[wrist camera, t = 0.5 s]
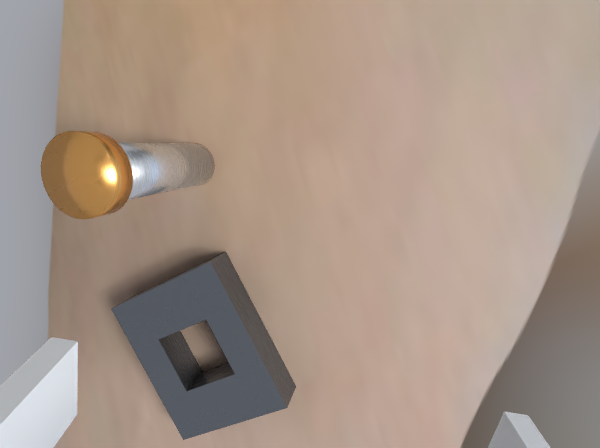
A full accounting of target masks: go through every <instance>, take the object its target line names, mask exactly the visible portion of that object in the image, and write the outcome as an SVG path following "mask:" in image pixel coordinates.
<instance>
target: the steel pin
mask: <svg viewBox="0 0 600 448" xmlns="http://www.w3.org/2000/svg"><path fill="white" fill-rule="evenodd" d="M214 166H215V165H214V159H213V156H212V154H211V152H210V151H209V150H208V149H207V148H206V147H205V146H203V145H201V144H197V143H117V142H116V141H115V140H114V139H113V138H111V137H109V136H107V135H105V134H102V133H98V132H82V131H68V132H63V133H61V134H59V135H57V136H55V137H54V138H53V139H52V140H51V141H50V142H49V144H48V145H47V147H46V148H45V151H44V153H43V156H42V162H41V175H42V180H43V184H44V187H45V189H46V192H47V194H48V196H49V197H50V199H51V200H52V202H53V203H54V204H55V205H56V206H57V207H58V208H59V209H60V210H61V211H62V212H64V213H65V214H67V215H69V216H71V217H74V218H78V219H90V218H94V217H98V216H102V215H106V214H110V213H113V212H116V211H117V210H119V209H120V208H121V207H123V206H124V204H125V203H126V202H127V200H128V199H133V198H138V197H143V196H148V195H153V194H158V193H163V192H168V191H173V190H177V189H182V188H187V187H192V186H197V185H202V184H204V183H206V182H207V181H209V179H210V178H211V177H212V175H213V172H214Z"/></svg>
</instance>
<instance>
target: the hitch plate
mask: <svg viewBox="0 0 600 448" xmlns="http://www.w3.org/2000/svg"><path fill="white" fill-rule="evenodd" d="M112 311H113V313H114V315H115V316H116V318H117V320H118V322H119V324H120V325H121V327H122V329H123V331H124V333H125V335H126V336H127V338H128V340H129V342H130V344H131V345H132V347H133V349H134V351H135V353H136V355H137V356H138V358H139V360H140V362H141V364H142V365H143V367H144V369H145V371H146V373H147V375H148V376H149V378H150V380H151V382H152V384H153V385H154V387H155V389H156V391H157V393H158V395H159V396H160V398H161V400H162V402H163V404H164V405H165V407H166V409H167V411H168V413H169V415H170V416H171V418H172V420H173V422H174V424H175V425H176V427H177V429H178V431H179V433H180V435H181V436H182V438H183V440H184V439H188V438H191V437H194V436H197V435H201V434H204V433H207V432H210V431H214V430H217V429H220V428H223V427H227V426H230V425H233V424H236V423H239V422H243V421H246V420H249V419H252V418H256V417H259V416H262V415H265V414H269V413H272V412H275V411H278V410H282V409H285V408H287V407H288V404H289V402H290V400H291V397H292V395H293V392H294V390H295V388H296V386H295V384H294V382H293V380H292V378H291V376H290V374H289V372H288V370H287V368H286V367H285V365H284V363H283V361H282V359H281V357H280V355H279V353H278V351H277V349H276V347H275V345H274V343H273V342H272V340H271V338H270V336H269V334H268V332H267V330H266V328H265V326H264V324H263V322H262V320H261V318H260V317H259V315H258V313H257V311H256V309H255V307H254V305H253V303H252V301H251V299H250V297H249V295H248V293H247V292H246V290H245V288H244V286H243V284H242V282H241V280H240V278H239V276H238V274H237V272H236V270H235V268H234V267H233V265H232V263H231V261H230V259H229V257H228V255H227V253H226V252H224V253H222V254H220V255H218V256H216V257H214V258H212V259H210V260H208V261H206V262H204V263H201V264H199V265H197V266H195V267H193V268H191V269H189V270H187V271H185V272H183V273H181V274H179V275H176V276H174V277H172V278H170V279H168V280H166V281H164V282H162V283H160V284H158V285H156V286H154V287H152V288H149V289H147V290H145V291H143V292H141V293H139V294H137V295H135V296H133V297H131V298H129V299H128V300H126V301H124V302H122V303H121V304H119V305H117V306H115V307H114V308H112ZM203 320H206V321H207V322H208V324H209V326H210V328H211V330H212V332H213V334H214V336H215V338H216V339H217V341H218V343H219V345H220V347H221V349H222V351H223V353H224V354H225V356H226V358H227V360H228V362H229V363H228V364H225V365H222V366H219V367H217V368H214V369H211V370H209V371H206V372H202V371H201V369H200V367H199V365H198V363H197V361H196V359H195V358H194V356H193V354H192V352H191V350H190V348H189V346H188V345H187V343H186V341H185V339H184V337H183V335H182V333H181V332H180V330H182V329H184V328H187V327H189V326H192V325H194V324H196V323H199V322H201V321H203Z"/></svg>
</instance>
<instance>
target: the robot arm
mask: <svg viewBox="0 0 600 448" xmlns="http://www.w3.org/2000/svg"><path fill="white" fill-rule="evenodd" d="M77 362H78V341H72V340H65V339H59V338H53V337H51V338H50V339H49V340H48V341H47V342H46V343H45V344H44V345H43V346H42V347H40V348H39V350H37V351H36V352H35V353H34V354H33V355H32V356H31V357H30V358H29V359H28V360H27V361H26V362H25V363H24V364H22V365H21V366H20V367H19V368H18V369H17V370H16V371H15V372H14V373H13V374H12V375H11V376H10V377H9V378H8V379H7V380H6V381H5V382H4V383H2V384H1V385H0V448H53V447H54V446H55V444H56V443H57V442H58V440H59V439H60V438H61V436H62V435H63V433H64V432H65V431H66V429H67V428H68V426H69V425H70V424H71V422H72V421H73V419H74V418H75V417H76V415H77ZM488 448H550V446H549V445H548V444H547V442H546V441H545V440H544V438H543V436H542V435H541V433H540V432H539V431H538V429H537V428H536V426H535V425H534V424H533V422H532V421H531V419H530V418H529V416H527V415H522V414H515V413H509V412H504V413H503V416H502V418H501V420H500V422H499V425H498V427H497V429H496V431H495V433H494V436H493V438H492V440H491V442H490V444H489V447H488Z"/></svg>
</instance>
